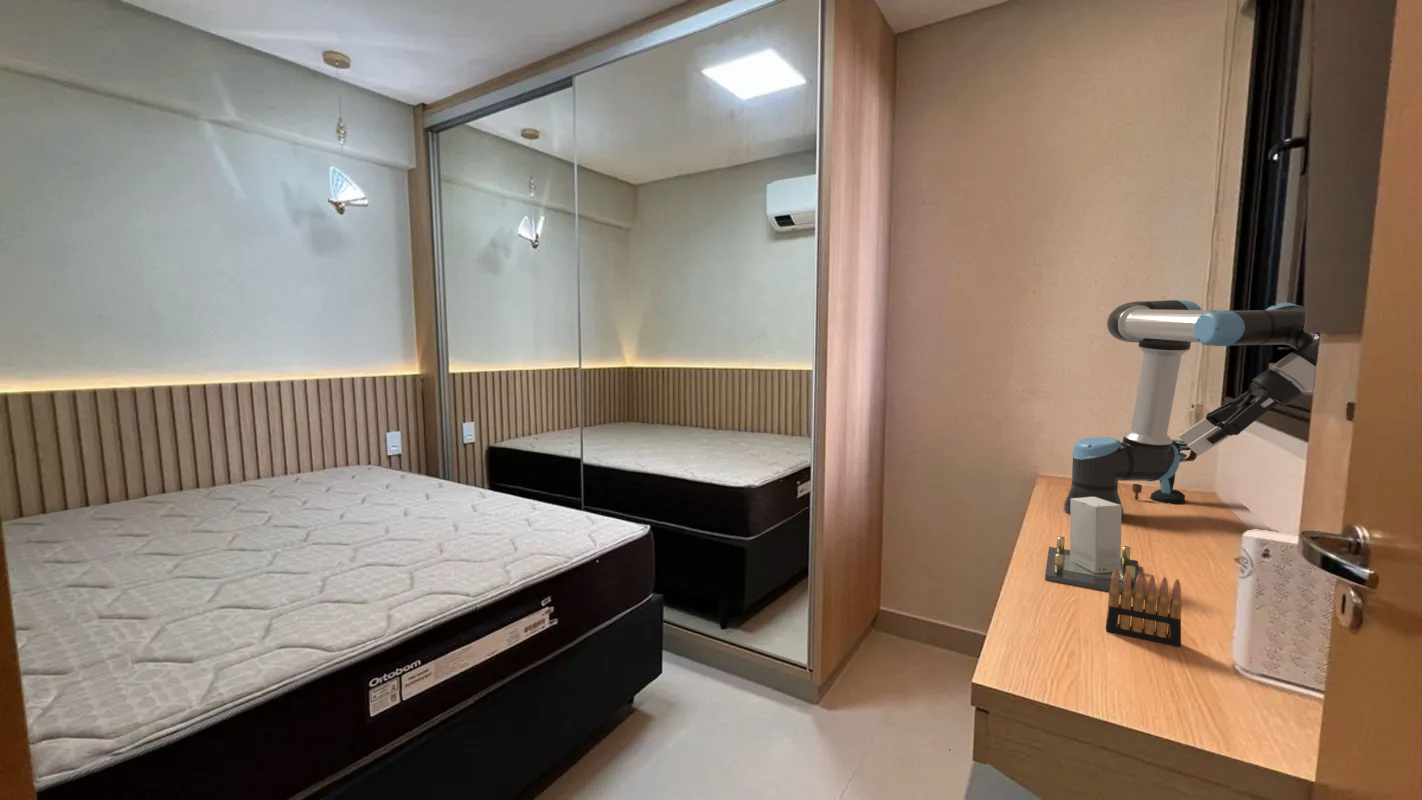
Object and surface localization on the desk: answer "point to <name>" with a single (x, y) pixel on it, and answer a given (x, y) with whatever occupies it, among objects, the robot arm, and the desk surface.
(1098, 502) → the skincare box
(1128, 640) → the desk surface
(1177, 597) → the ammunition clip
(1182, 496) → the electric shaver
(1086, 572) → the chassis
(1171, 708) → the desk surface
